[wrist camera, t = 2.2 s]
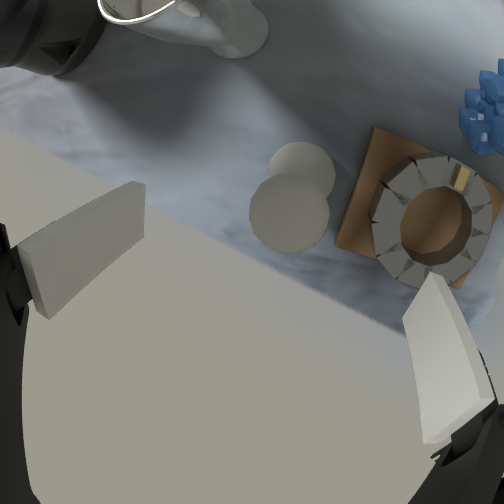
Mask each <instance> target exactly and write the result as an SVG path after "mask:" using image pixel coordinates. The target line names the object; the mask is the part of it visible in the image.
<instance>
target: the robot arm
mask: <svg viewBox="0 0 504 504" xmlns="http://www.w3.org/2000/svg"><path fill="white" fill-rule="evenodd" d="M106 22H107V19H105V18H104V17H103V16H102V14H101V13H100V11H99V9H98V5H97V0H0V68H3V67H10V66H16V67H19V68H23V69H26V70H29V71H32V72H35V73H38V74H41V75H61V74H64V73H67V72H69V71H71V70H72V69H74V68H75V67H76V66H78V65H79V64H80V63H81V62H82V61H83V60H84V59H85V58H86V56H87V55H88V54H89V53H90V51H91V50H92V49H93V47H94V46H95V44H96V42H97V41H98V39H99V37H100V35H101V33H102V31H103V29H104V27H105V24H106ZM145 188H146V184H143V183H139V182H135V181H131V182H129V183H127V184H125V185H123V186H121V187H119V188H117V189H115V190H113V191H111V192H109V193H107V194H105V195H103V196H101V197H99V198H97V199H95V200H93V201H91V202H89V203H87V204H85V205H83V206H81V207H80V208H78V209H76V210H74V211H72V212H71V213H69V214H67V215H65V216H63V217H62V218H60V219H58V220H57V221H54V222H53V223H51V224H49V225H48V226H46V227H45V228H43V229H41V230H39V231H38V232H36V233H35V234H33V235H31V236H30V237H28V238H27V239H25V240H24V241H22V242H21V243H19V244H18V245H16V246H15V247H13V248H12V249H11V248H10V244H9V240H8V235H7V232H6V227H5V225H4V224H2V223H0V504H40V502H39V500H38V499H37V498H36V496H35V495H34V494H33V492H32V490H31V486H30V482H29V477H28V471H27V465H26V458H25V449H24V440H23V427H22V369H23V368H22V367H23V356H24V344H25V336H26V329H27V322H28V316H29V306H28V304H27V303H28V302H29V301H30V300H31V299H33V302H34V305H35V308H36V310H37V312H39V313H40V314H41V315H43V316H44V317H46V318H47V319H48V320H50V319H51V318H52V317H53V316H54V315H55V314H56V313H57V312H58V311H59V310H60V309H62V307H64V306H65V305H66V304H67V303H68V302H69V301H70V300H71V299H72V298H73V297H74V296H75V295H77V294H78V293H79V292H80V291H81V290H82V289H83V288H84V287H85V286H86V285H88V284H89V283H90V282H91V281H92V280H93V279H94V278H95V277H97V276H98V275H99V274H100V273H101V272H102V271H103V270H105V269H106V268H107V267H108V266H109V265H110V264H111V263H113V262H114V261H115V260H116V259H117V258H119V257H120V256H121V255H122V254H124V253H125V252H126V251H127V250H128V249H130V248H131V247H132V246H133V245H135V244H136V243H137V242H138V241H140V240H141V239H142V238H143V237H144V207H145ZM402 320H403V324H404V328H405V333H406V337H407V341H408V345H409V350H410V355H411V360H412V365H413V370H414V376H415V382H416V388H417V394H418V401H419V408H420V416H421V425H422V436H423V443H424V444H439V443H440V442H442V441H443V440H445V439H446V438H447V437H449V436H450V435H451V440H452V442H451V443H449V444H448V445H447V446H445V447H444V448H442V449H440V450H439V451H437V452H436V453H434V454H433V455H432V456H431V458H434V457H436V456H437V455H440V457H439V458H438V459H437V460H435V462H436V464H435V465H434V467H433V469H432V470H431V472H430V473H429V475H428V476H427V478H426V479H425V481H424V482H423V484H422V485H421V487H420V488H419V489H418V491H417V492H416V494H415V495H414V496H413V497H412V499H411V500H410V502H409V503H408V504H504V477H503V478H502V476H503V473H504V404H500V405H499V404H498V401H497V397H496V394H495V391H494V388H493V385H492V382H491V379H490V376H489V375H488V370H487V368H486V367H485V362H484V360H483V357H482V354H481V353H480V351H479V350H478V348H477V346H476V344H475V341H474V339H473V337H472V334H471V332H470V330H469V328H468V325H467V323H466V321H465V319H464V317H463V315H462V312H461V310H460V308H459V306H458V304H457V302H456V300H455V298H454V296H453V294H452V293H451V291H450V289H449V287H448V285H447V283H446V281H445V279H444V278H443V276H441V275H438V274H436V273H433V272H429V274H428V276H427V278H426V280H425V281H424V283H423V285H422V287H421V288H420V290H419V292H418V293H417V295H416V297H415V298H414V300H413V302H412V303H411V305H410V306H409V308H408V309H407V311H406V313H405V314H404V316H403V317H402Z"/></svg>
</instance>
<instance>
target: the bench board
mask: <svg viewBox="0 0 504 504" xmlns="http://www.w3.org/2000/svg"><path fill="white" fill-rule="evenodd" d="M427 152H433V151H431V150H429V149H427V148H425V147H423V146H421V145H419V144H416V143H414V142H412V141H410V140H407V139H405V138H403V137H401V136H398V135H396V134H393V133H391V132H388V131H386V130H383V129H381V128H378V127H376V126H373V128H372V131H371V135H370V138H369V142H368V145H367V148H366V151H365V155H364V158H363V161H362V164H361V167H360V170H359V173H358V176H357V179H356V182H355V185H354V188H353V191H352V194H351V197H350V200H349V203H348V206H347V208H346V211H345V214H344V217H343V219H342V222H341V225H340V228H339V230H338V233H337V236H336V238H335V246H336V247H339V248H343V249H346V250H349V251H352V252H355V253H358V254H361V255H364V256H367V257H370V258H373V259H376V260H378V259H377V257H376V255H375V251H374V248H373V245H372V240H371V233H370V226H369V219H368V213H369V212H368V209H369V206H370V203H371V201H372V198H373V195H374V193H375V190H376V187H377V184H378V181H382V182H384V181H383V179H382V178H381V177H382V176H383V175H384V174H385V173H386V172H388V171H389V170H390V169H391V168H392V167H393V166H395V165H396V164H397V163H398V162H399V161H400V160H401V159H403V158H404V157H406V158H408V155H413V154H420V153H427ZM480 178H481V177H480ZM481 180H482V182H483V184H484V185H485V188H486V190H487V192H488V194H489V196H490V198H491V201H490V202H491V203H492V225H493V223H494V221H495V219H496V216H497V214H498V212H499V209H500V207H501V204H502V202H503V199H504V192H502V191H501V190H499V189H498V188H496V187H495V186H493V185H492V184H490V183H489V182H487V181H486V180H484V179H482V178H481ZM460 224H461V202H460V200H459V198H458V196H457V195H456V193H455V191H454V190H453V189H451V188H449V187H447V186H441V187H435V188H428V189H425V190H424V191H423V192H421V193H420V194H419V195H418V196H417V197H415V198H414V199H413V200H412V201H411V202H410V203H408V206H407V208H406V211H405V213H404V215H403V218H402V220H401V222H400V234H401V242H402V243H403V244H404V246H405V247H406V248H408V249H411V250H413V251H416V252H419V253H421V254H424V253H429V252H434V251H439V250H440V249H442V248H443V247H444V246H445V245H447V244H448V243H449V242H450V241H451V240H453V239H454V237H455V234H456V232H457V230H458V228H459V226H460ZM491 228H492V226H491ZM473 262H475V261H473ZM470 269H471V268H470ZM470 269H469V270H468V271H467V272H465V273H464V274H463V275H462V276H460V277H459V278H458V279H456V280H455V281H454V282H452V280H451V278H450V284H448V285H451V286H453V287H456V288H459V287H460V286H461V284H462V283H463V281H464V279H465V277H466V276H467V274H468V272H469V271H470Z"/></svg>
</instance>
